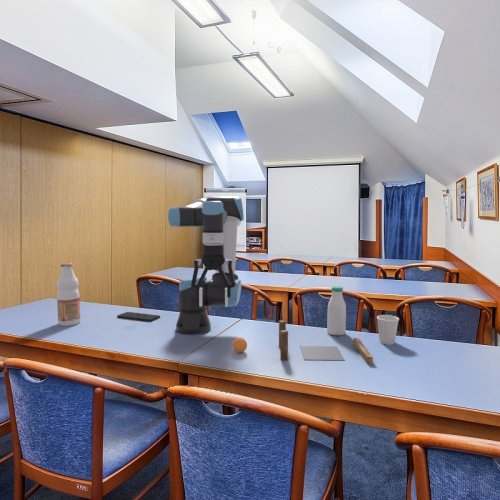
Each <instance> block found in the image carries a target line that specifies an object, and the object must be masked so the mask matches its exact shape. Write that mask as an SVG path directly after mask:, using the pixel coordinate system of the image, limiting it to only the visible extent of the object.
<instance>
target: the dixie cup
mask: <svg viewBox="0 0 500 500" xmlns="http://www.w3.org/2000/svg"><path fill="white" fill-rule="evenodd" d="M376 319H377V328H378V329H377V330H378V340H379V343H380V344H383V345H389V346H390V345H391V346H392V345H394V344H395V342H396V337H397V331H398V325H399V321H400V318H399V317H397V316H395V315H391V314H381V315H377V316H376Z"/></svg>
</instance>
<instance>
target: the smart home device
mask: <svg viewBox="0 0 500 500" xmlns="http://www.w3.org/2000/svg"><path fill="white" fill-rule="evenodd" d="M116 316H117V317H116V318H117V319H123V320H124V319H125V320H130V321H131V320H132V321H138V322H139V321H141V322H148V323H149V322H150V323H153V322H154V321H157V320H158V319H160V318H161V315H160V314H159V315H158V314H148V313H141V312H132V311H126V312H123V313H119V314H117V315H116Z"/></svg>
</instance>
